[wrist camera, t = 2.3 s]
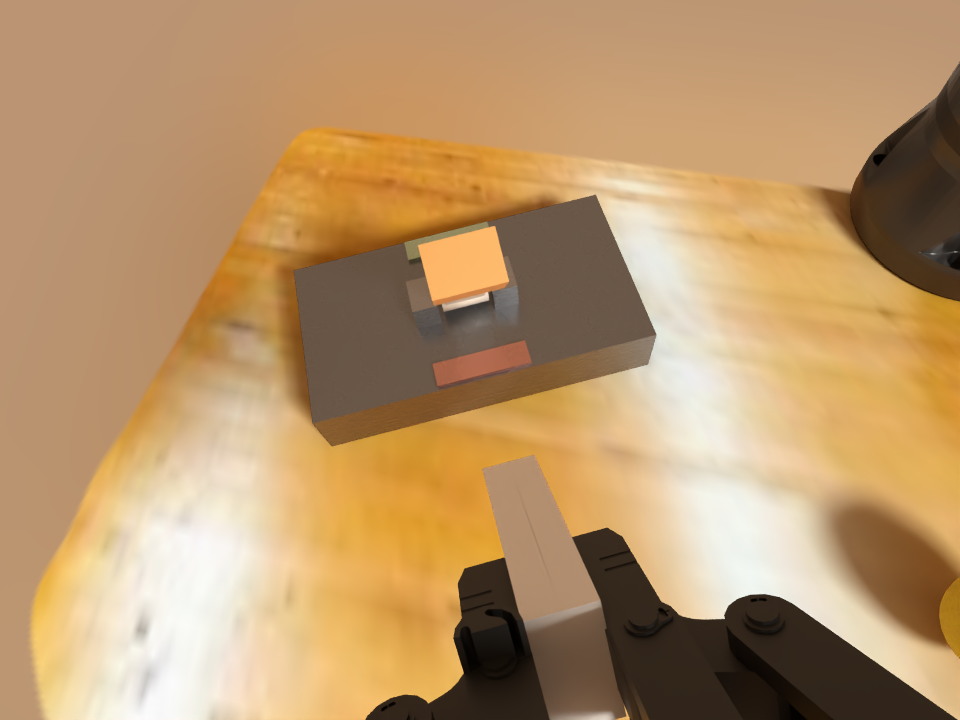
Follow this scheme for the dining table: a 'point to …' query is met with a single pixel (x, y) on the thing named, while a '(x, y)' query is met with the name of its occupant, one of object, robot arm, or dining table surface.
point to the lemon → (951, 616)
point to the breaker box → (468, 325)
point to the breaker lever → (464, 268)
